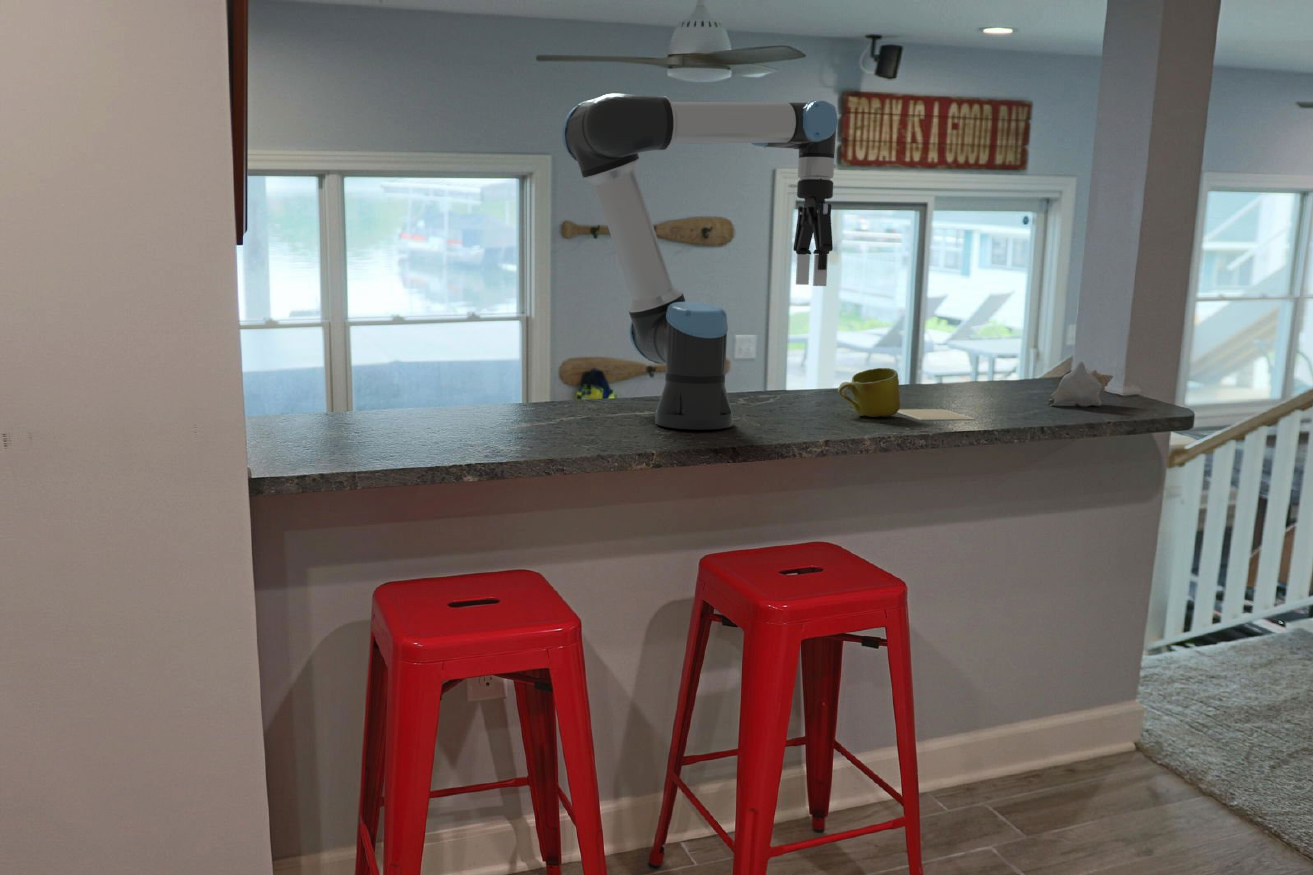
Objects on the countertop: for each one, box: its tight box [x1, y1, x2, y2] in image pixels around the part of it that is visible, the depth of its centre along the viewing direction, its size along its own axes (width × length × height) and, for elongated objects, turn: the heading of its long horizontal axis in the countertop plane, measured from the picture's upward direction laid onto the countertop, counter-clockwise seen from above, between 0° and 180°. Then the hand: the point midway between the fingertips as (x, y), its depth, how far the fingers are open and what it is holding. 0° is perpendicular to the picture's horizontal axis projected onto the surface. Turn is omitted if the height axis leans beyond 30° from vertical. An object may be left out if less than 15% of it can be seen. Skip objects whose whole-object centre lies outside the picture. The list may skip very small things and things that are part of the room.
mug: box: [837, 367, 901, 418], centre depth 224 cm, size 12×10×10 cm
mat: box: [896, 408, 976, 421], centre depth 229 cm, size 12×14×1 cm
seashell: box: [1047, 360, 1114, 408], centre depth 246 cm, size 12×10×15 cm
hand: (810, 285), depth 237 cm, fingers open, 10 cm apart
